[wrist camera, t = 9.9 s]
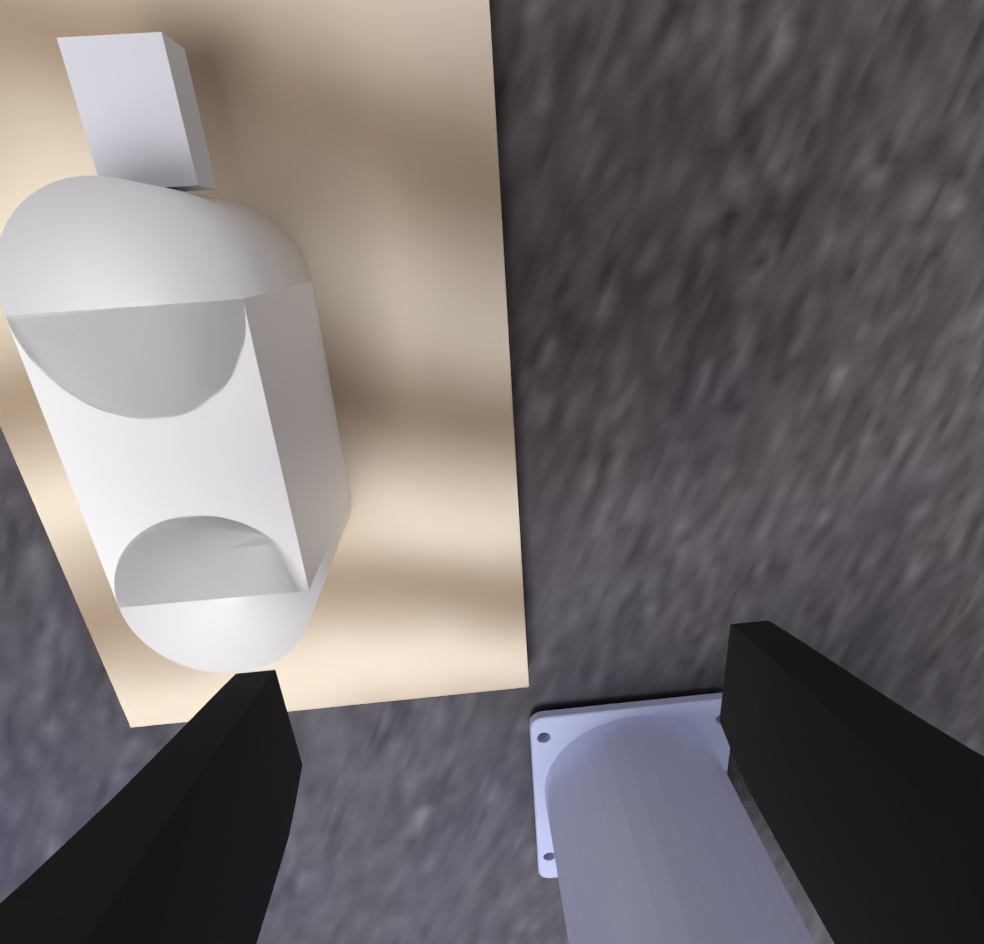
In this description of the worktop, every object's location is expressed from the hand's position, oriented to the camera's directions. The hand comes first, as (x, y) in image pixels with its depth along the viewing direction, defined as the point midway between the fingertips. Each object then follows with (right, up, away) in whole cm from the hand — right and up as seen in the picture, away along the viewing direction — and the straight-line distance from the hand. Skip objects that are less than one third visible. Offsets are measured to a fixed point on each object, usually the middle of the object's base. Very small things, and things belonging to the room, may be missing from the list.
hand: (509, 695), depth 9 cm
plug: (-7, +7, +6) cm, 11 cm away
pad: (-7, +6, +7) cm, 12 cm away
